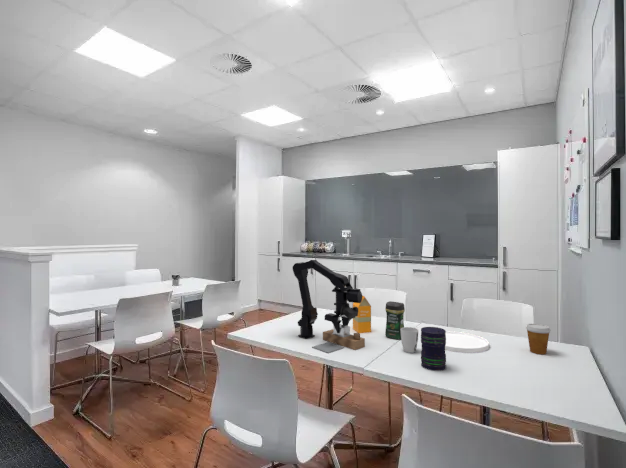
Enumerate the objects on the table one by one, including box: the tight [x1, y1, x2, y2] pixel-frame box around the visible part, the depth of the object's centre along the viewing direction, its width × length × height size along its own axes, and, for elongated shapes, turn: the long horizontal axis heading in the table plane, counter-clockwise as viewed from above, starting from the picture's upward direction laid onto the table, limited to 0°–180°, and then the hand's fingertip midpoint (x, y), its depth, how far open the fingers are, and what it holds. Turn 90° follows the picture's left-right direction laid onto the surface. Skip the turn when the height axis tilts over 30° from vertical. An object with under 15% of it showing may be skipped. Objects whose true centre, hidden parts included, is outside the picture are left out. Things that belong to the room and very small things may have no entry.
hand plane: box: [322, 328, 366, 351], centre depth 176 cm, size 22×7×6 cm, turn 42°
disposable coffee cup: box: [525, 323, 551, 355], centre depth 161 cm, size 10×10×12 cm
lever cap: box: [332, 323, 351, 336], centre depth 176 cm, size 7×4×5 cm, turn 42°
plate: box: [445, 330, 490, 354], centre depth 174 cm, size 28×28×2 cm
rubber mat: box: [311, 341, 345, 354], centre depth 169 cm, size 11×11×1 cm
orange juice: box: [352, 295, 372, 334], centre depth 198 cm, size 8×9×20 cm
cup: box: [400, 326, 419, 354], centre depth 163 cm, size 8×8×10 cm
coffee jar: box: [384, 301, 405, 340], centre depth 185 cm, size 10×8×19 cm
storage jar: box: [420, 326, 447, 372], centre depth 145 cm, size 10×10×15 cm
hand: (341, 332), depth 176 cm, fingers closed on lever cap, 4 cm apart
